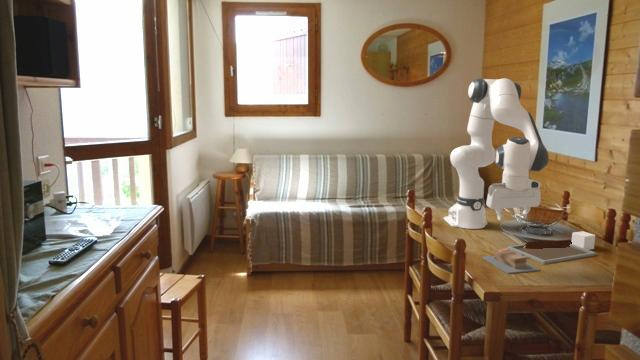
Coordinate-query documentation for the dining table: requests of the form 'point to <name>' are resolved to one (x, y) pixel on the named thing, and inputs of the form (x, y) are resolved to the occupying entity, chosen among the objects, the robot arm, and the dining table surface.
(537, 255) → the flat tray
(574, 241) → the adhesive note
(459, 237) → the dining table surface
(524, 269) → the rubber mat
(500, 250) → the tan rectangular block
